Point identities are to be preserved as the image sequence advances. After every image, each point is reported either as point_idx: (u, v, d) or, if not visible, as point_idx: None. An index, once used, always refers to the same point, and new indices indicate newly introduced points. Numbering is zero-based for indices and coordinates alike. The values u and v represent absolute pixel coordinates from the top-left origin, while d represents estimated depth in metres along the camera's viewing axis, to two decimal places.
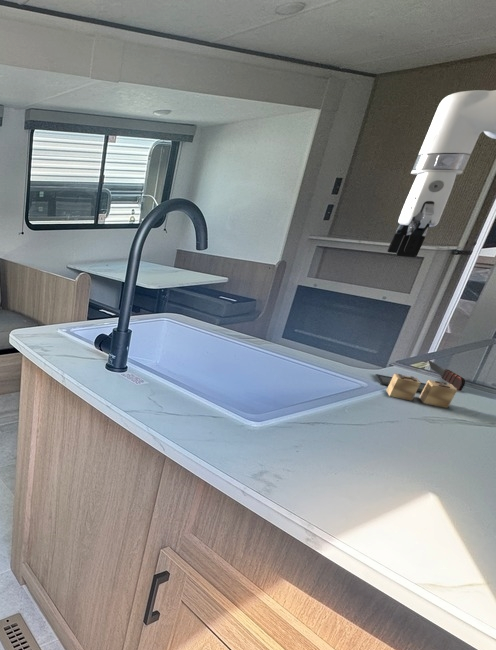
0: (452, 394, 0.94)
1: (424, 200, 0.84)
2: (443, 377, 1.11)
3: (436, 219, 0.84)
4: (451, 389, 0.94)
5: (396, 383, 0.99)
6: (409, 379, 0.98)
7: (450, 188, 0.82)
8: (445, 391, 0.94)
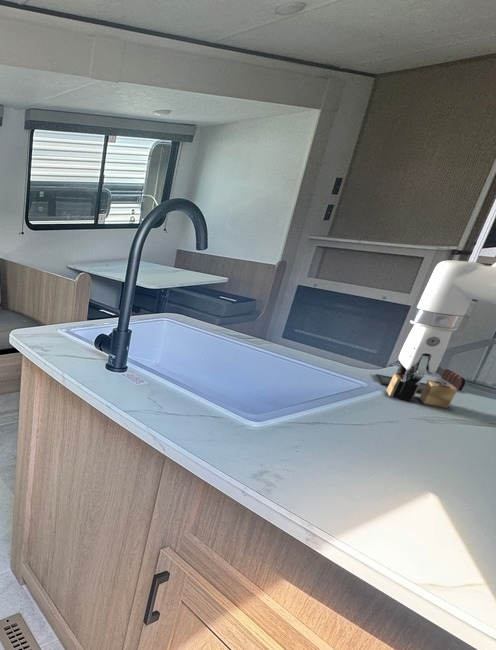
0: (452, 394, 0.94)
1: (422, 352, 0.92)
2: (443, 377, 1.11)
3: (433, 370, 0.92)
4: (451, 389, 0.94)
5: (396, 383, 0.99)
6: None
7: (446, 345, 0.90)
8: (445, 391, 0.94)
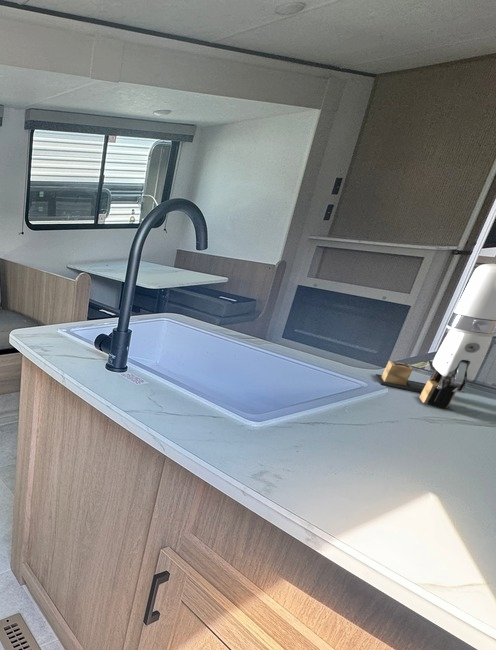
0: None
1: (460, 358, 0.89)
2: None
3: (472, 376, 0.89)
4: None
5: (390, 369, 1.06)
6: (402, 365, 1.05)
7: (486, 351, 0.87)
8: None
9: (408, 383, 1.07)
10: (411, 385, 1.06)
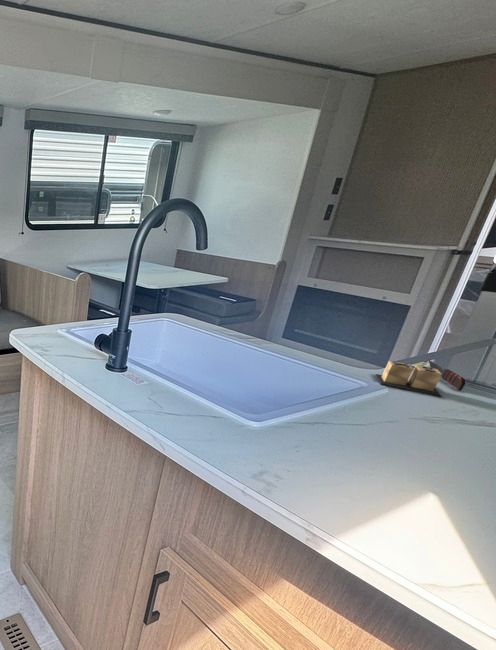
0: (437, 378, 1.02)
1: None
2: (443, 377, 1.11)
3: None
4: (436, 373, 1.02)
5: (390, 369, 1.06)
6: (402, 365, 1.05)
7: None
8: (430, 375, 1.02)
9: (408, 383, 1.07)
10: None
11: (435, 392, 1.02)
